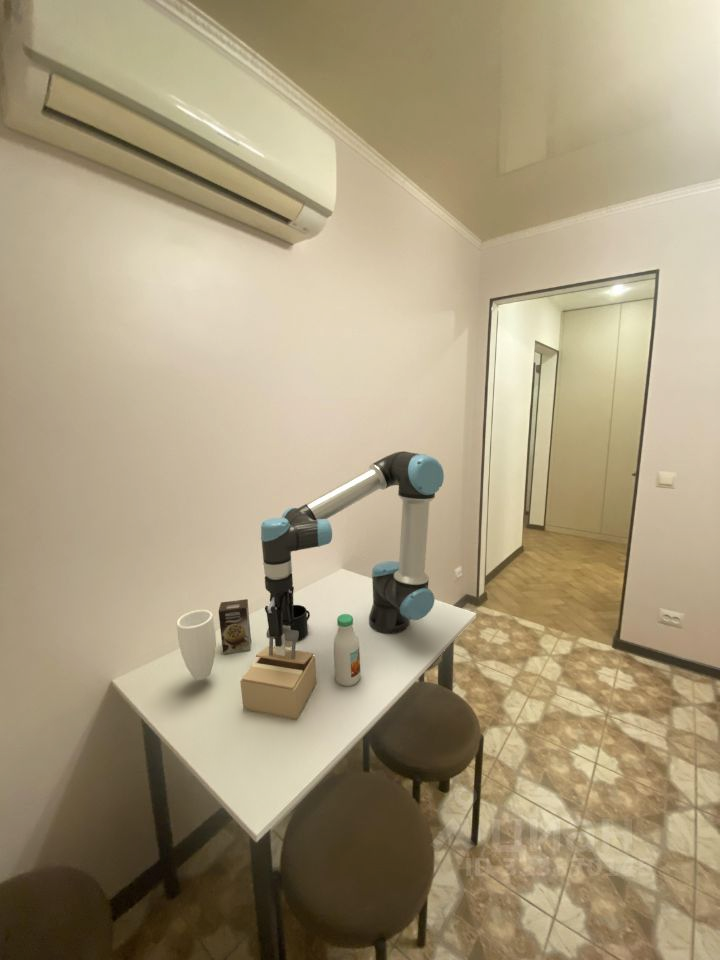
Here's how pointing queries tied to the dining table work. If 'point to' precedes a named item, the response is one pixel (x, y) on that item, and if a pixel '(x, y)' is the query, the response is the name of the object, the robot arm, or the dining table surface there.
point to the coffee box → (235, 626)
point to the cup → (197, 642)
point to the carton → (278, 687)
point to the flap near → (290, 654)
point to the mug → (300, 621)
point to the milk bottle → (346, 652)
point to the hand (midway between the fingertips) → (284, 650)
